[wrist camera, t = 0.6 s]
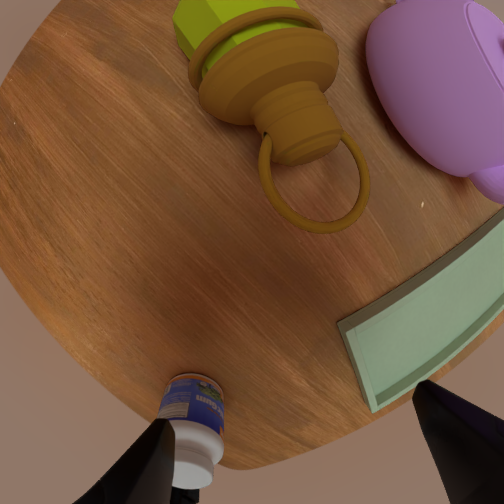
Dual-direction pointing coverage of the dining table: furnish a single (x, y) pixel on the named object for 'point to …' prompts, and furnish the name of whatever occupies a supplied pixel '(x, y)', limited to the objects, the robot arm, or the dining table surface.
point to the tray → (427, 317)
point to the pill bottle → (194, 428)
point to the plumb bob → (269, 86)
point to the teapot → (444, 85)
